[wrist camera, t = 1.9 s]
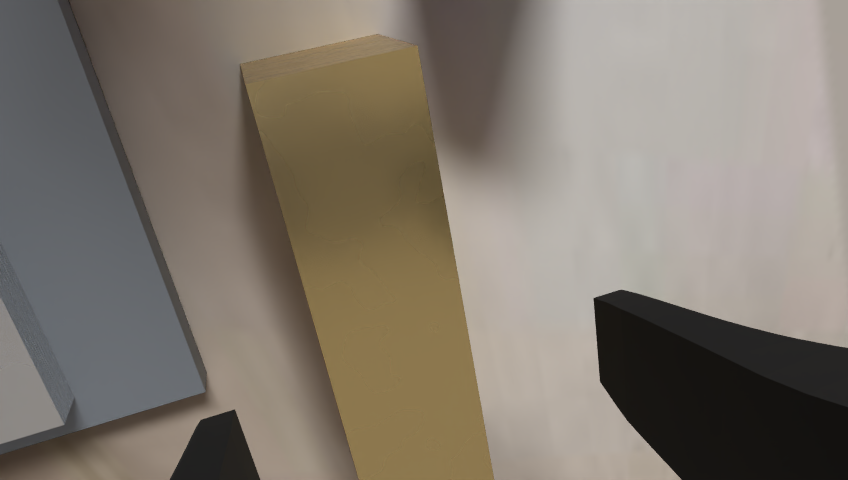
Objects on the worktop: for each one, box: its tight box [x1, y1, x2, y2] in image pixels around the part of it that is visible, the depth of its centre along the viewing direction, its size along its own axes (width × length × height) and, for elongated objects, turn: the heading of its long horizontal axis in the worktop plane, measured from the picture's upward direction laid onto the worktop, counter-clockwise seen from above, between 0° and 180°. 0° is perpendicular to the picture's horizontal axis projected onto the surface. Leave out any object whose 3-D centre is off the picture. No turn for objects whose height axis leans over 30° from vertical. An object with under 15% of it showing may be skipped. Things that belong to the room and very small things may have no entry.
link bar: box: [240, 34, 494, 480], centre depth 17 cm, size 4×12×4 cm, turn 12°
